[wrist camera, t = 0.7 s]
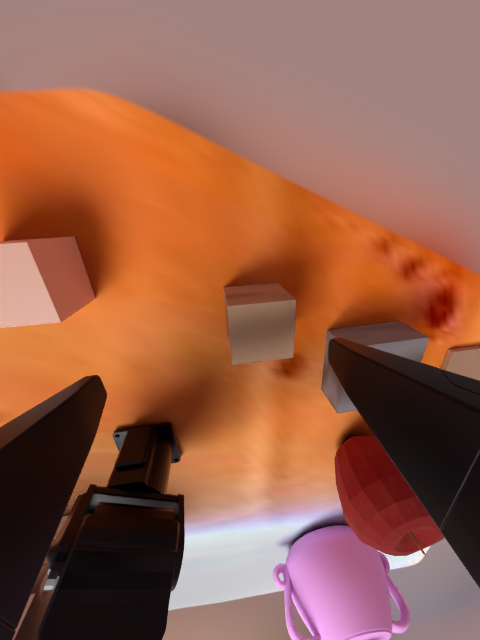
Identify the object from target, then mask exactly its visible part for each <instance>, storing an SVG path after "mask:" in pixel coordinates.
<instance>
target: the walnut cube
mask: <svg viewBox="0 0 480 640" xmlns="http://www.w3.org/2000/svg"><path fill="white" fill-rule="evenodd" d="M224 298H225V310H226V321H227V332H228V340H229V347H230V353H231V359H232V365H236V364H244V363H252V362H261V361H269V360H277V359H286V358H293V353H294V334H295V315H296V299H295V298H294V297H293V296H292V295H291V294H290V293H289V292H287V291H286V290H285V289H284V288H283V287H282V286H281V285H280V284H279V283H278V282H275V283H264V284H253V285H241V286H230V287H224Z"/></svg>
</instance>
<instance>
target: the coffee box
mask: <svg viewBox="0 0 480 640" xmlns="http://www.w3.org/2000/svg"><path fill="white" fill-rule="evenodd" d="M68 516H69V515H67V516H63V517H62V519H61V522H60V524H59V527H58V529H57V532H56V534H55V536H54V539H53V541H52V544H53V542H54V541H55V539H56V537H57V535H58V534H59V532H60V530H61V529H62V527H63V525H64V523H65V522H66V520H67V518H68ZM52 544H51V546H52ZM51 546H50V547H51ZM48 552H49V551H48ZM48 569H49V566H48V563H47V560H46V558H45V561H44V563H43V566H42V568H41V571H40V573H39V576H38V578H37V580H36V583H35V585H34V588H33V590H32V593H31V595H30V597H29V600H28V602H27V605H26V607H25V610H24V612H23V615H22V617H21V619H20V622H19V624H18V627H17V628H16V629H15V630H16V632H15V635H14V637H13V640H37V634H38V630H39V627H40V624H41V622H42V619H43V617H44V614H45V612H46V609H47V607H48V604H49V602H50V599H51V597H52V594H53V592H43V590H44V587H45V584H46V581H47V578H48V576H47V572H48Z"/></svg>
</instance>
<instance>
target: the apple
mask: <svg viewBox="0 0 480 640" xmlns="http://www.w3.org/2000/svg"><path fill="white" fill-rule="evenodd" d="M335 474H336V485H337V490H338V493H339V497H340V501H341V505H342V509H343V513H344V517H345V521H346V523H347V524H348V525H349V526H350V528H351V529H352V530H353V532H354V533H355V534H356V536H357V537H358V538H359V540H360V541H361V542H363V543H365V544H367V545H369V546H371V547H373V548H375V549H377V550H379V551H381V552H383V553H385V554H389V555H393V556H407V555H410V554H412V553H414V552H417V551H419V550H421V551H422V553H423V554H424V555H426V554H425V552H424V551H423V549H424V548H426V547H428V546H431V545H433V544H435V543H437V542H438V541H440V540H442V539H443V538H444V536H443V534H442V533H441V531H440V530H441V529H439V528H438V526H437V525H436V524H435V522H434V521H433V519H432V518H431V516H430V515H429V513H428V512H427V510H426V509H425V508H424V506H423V505H422V503H421V502H420V500H419V499H418V497H417V496H416V495H415V493H414V492H413V490H412V489H411V487H410V486H409V484H408V483H407V481H406V480H405V479H404V477H403V476H402V474H401V473H400V471H399V470H398V468H397V467H396V465H395V464H394V463H393V461H392V460H391V458H390V457H389V455H388V454H387V452H386V451H385V449H384V448H383V447H382V445H381V444H380V442H379V441H378V439H377V438H376V436H375V435H366V436H353V437H350V438H349V439H347V440H346V441H345V442H344V443H343V444H342V445H341V446H340V448H339V449H338V450H337V453H336V456H335Z"/></svg>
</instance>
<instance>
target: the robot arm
mask: <svg viewBox="0 0 480 640" xmlns="http://www.w3.org/2000/svg"><path fill="white" fill-rule="evenodd" d="M328 361H329V363H330V365H331V367H332V369H333V371H334V372H335V374H336V376H337V378H338V380H339V382H340V384H341V385H342V387H343V389H344V391H345V392H346V394H347V396H348V397H349V399H350V400H351V402H352V403H353V404H354V406H355V407H356V409H357V410H358V412H359V413H360V415H361V416H362V418H363V419H364V420H365V422H366V423H367V425H368V426H369V428H370V429H371V431H372V432H373V434H374V435H375V436H376V438H377V439H378V441H379V442H380V444H381V445H382V447H383V448H384V449H385V451H386V452H387V454H388V455H389V457H390V458H391V460H392V461H393V463H394V464H395V465H396V467H397V468H398V470H399V471H400V473H401V474H402V476H403V477H404V479H405V480H406V481H407V483H408V484H409V486H410V487H411V489H412V490H413V492H414V493H415V495H416V496H417V497H418V499H419V500H420V502H421V503H422V505H423V506H424V508H425V509H426V510H427V512H428V513H429V515H430V516H431V518H432V519H433V521H434V522H435V524H436V525H437V526H438V528H439V529H441V530H440V531H441V533H442V534H443V536H444V537H445V538H446V540H447V541H448V543H449V544H450V545H451V547H452V549H453V550H454V552H455V553H456V554H457V556H458V557H459V559H460V560H461V562H462V563H463V565H464V566H465V567H466V569H467V570H468V572H469V573H470V575H471V576H472V578H473V579H474V581H475V582H476V583H477V585H478V586H479V588H480V381H479V380H476V379H473V378H469V377H466V376H463V375H459V374H456V373H453V372H450V371H446V370H443V369H441V370H440V369H439V368H437V367H433V366H430V365H427V364H424V363H420V362H417V361H414V360H411V359H408V358H404V357H401V356H398V355H395V354H392V353H388V352H385V351H382V350H379V349H376V348H372V347H369V346H366V345H363V344H359V343H356V342H353V341H350V340H347V339H343V338H333V339H330V340H329V345H328ZM106 399H107V393H106V390H105V388H104V385H103V383H102V381H101V378H100V377H99V376H98V375H92V376H86V377H84V378H82V379H80V380H79V381H77V382H75V383H74V384H72V385H70V386H69V387H67V388H65V389H64V390H62V391H60V392H59V393H57V394H55V395H54V396H52V397H50V398H49V399H47V400H45V401H44V402H42V403H40V404H38V405H37V406H35V407H33V408H32V409H30V410H28V411H27V412H25V413H23V414H22V415H20V416H18V417H17V418H15V419H13V420H12V421H10V422H8V423H7V424H5V425H3V426H2V427H0V640H13V637H14V635H15V632H16V630H15V629H16V628H17V627H18V624H19V622H20V619H21V617H22V615H23V612H24V610H25V607H26V605H27V602H28V600H29V597H30V595H31V593H32V590H33V588H34V585H35V583H36V580H37V578H38V576H39V573H40V571H41V568H42V566H43V563H44V561H45V558H46V560H47V563H48V566H49V569H48V572H47V576H48V578H47V581H46V584H45V587H44V590H43V592H53V594H52V597H51V599H50V602H49V604H48V607H47V609H46V612H45V614H44V617H43V619H42V622H41V624H40V627H39V630H38V634H37V640H162V638H163V635H164V633H165V630H166V624H167V615H168V606H169V599H170V593H171V591H173V590H174V588H175V586H176V584H177V581H178V578H179V574H180V569H181V565H182V559H183V551H184V495H180V494H178V495H170V494H166V492H167V485H168V479H169V473H170V466H171V463H177V462H179V461H180V458H181V456H180V452H179V448H178V444H177V440H176V436H175V432H174V428H173V425H172V424H171V423H161V424H154V425H147V426H140V427H133V428H126V429H118V430H115V431H114V433H113V438H114V440H115V443H116V445H117V447H118V450H119V454H118V457H117V459H116V462H115V466H114V468H113V471H112V474H111V476H110V479H109V481H108V484H107V487H100V486H97V485H94V484H90V486H89V488H88V490H87V492H86V493H85V494H82V495H79V496H78V498H77V500H76V502H75V504H74V506H73V508H72V510H71V512H70V514H69V516H68V518H67V520H66V522H65V523H64V525H63V527H62V529H61V530H60V532H59V534H58V535H57V537H56V539H55V541H54V542H53V544H52V541H53V539H54V536H55V534H56V532H57V529H58V527H59V524H60V522H61V519H62V517H63V515H64V512H65V510H66V507H67V505H68V502H69V500H70V497H71V495H72V493H73V490H74V488H75V485H76V483H77V480H78V478H79V475H80V473H81V471H82V468H83V466H84V463H85V461H86V458H87V456H88V454H89V451H90V449H91V446H92V444H93V441H94V438H95V436H96V433H97V429H98V426H99V423H100V419H101V416H102V412H103V409H104V406H105V402H106ZM51 544H52V546H51ZM50 546H51V547H50ZM48 551H49V552H48Z"/></svg>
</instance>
